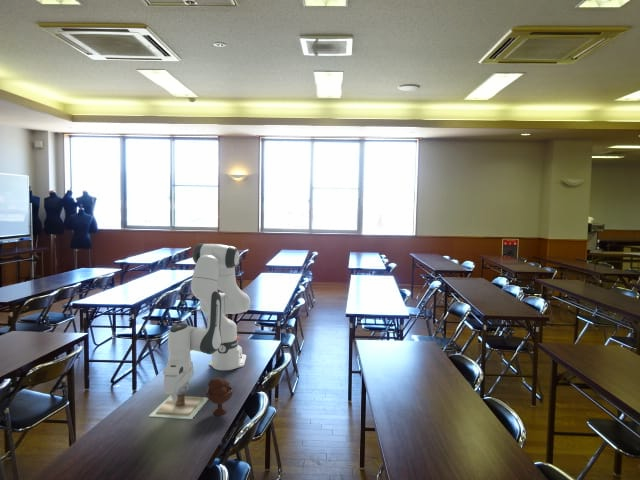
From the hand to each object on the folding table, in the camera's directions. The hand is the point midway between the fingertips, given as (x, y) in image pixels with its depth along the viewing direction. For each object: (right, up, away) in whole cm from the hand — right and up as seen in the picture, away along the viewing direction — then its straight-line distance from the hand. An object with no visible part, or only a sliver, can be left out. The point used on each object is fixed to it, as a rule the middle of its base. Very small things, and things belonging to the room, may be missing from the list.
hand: (180, 395), depth 174 cm
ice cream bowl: (+17, -6, -3) cm, 19 cm away
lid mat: (0, -5, +1) cm, 5 cm away
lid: (0, -5, +1) cm, 5 cm away
